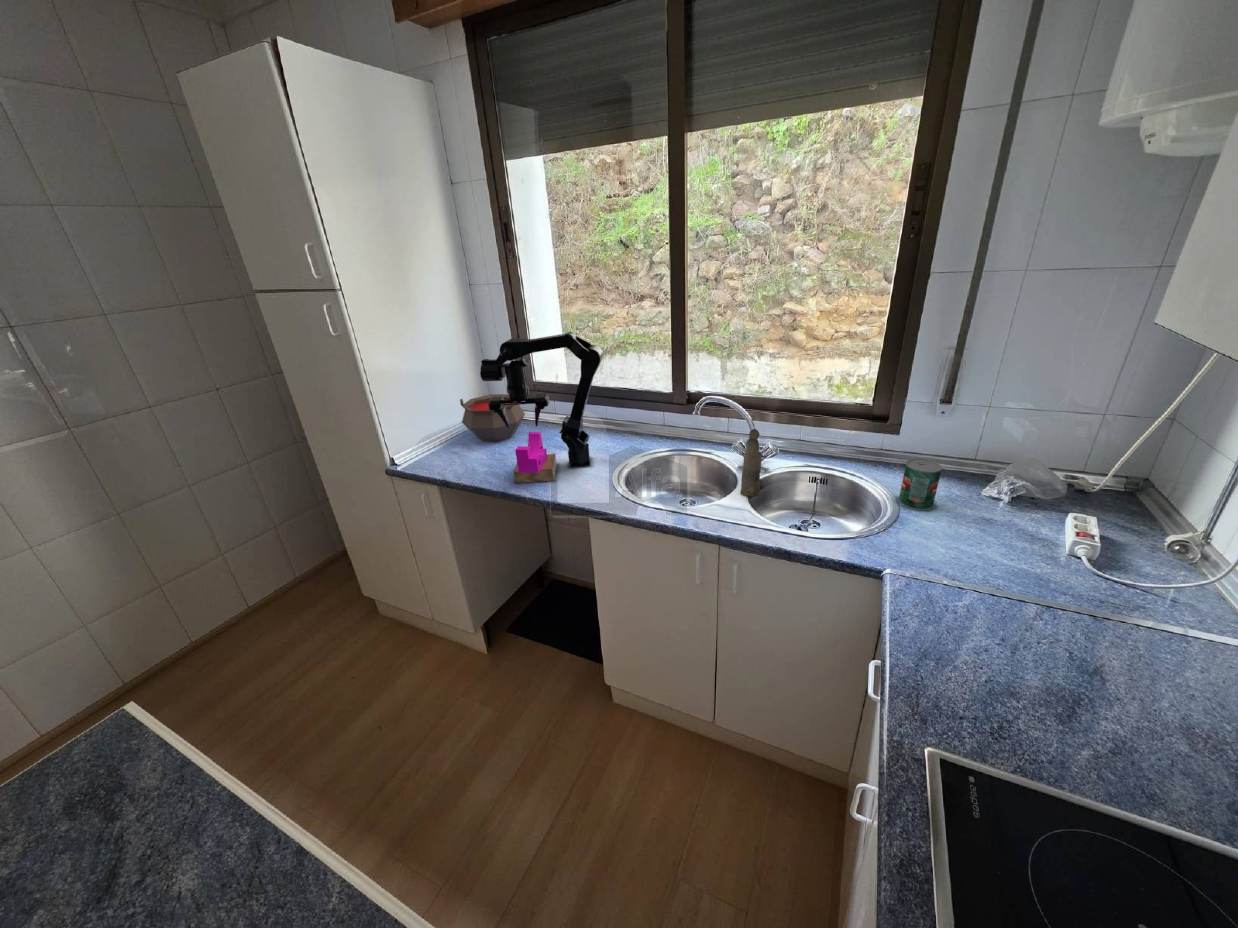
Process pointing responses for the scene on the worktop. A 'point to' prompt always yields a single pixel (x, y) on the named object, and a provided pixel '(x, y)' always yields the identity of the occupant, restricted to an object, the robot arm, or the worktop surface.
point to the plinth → (543, 475)
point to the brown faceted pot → (490, 419)
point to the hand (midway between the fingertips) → (522, 426)
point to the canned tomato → (919, 484)
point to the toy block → (531, 454)
